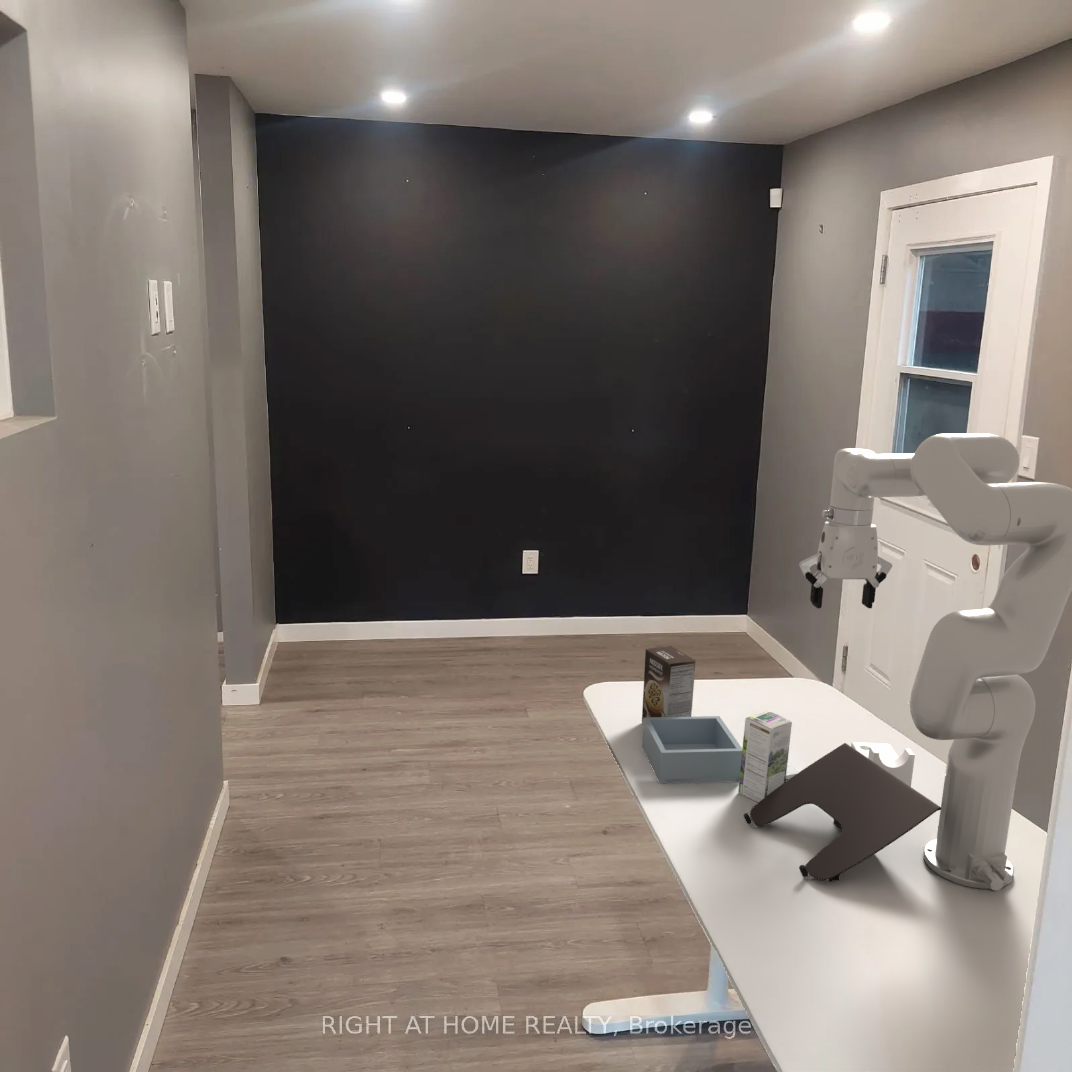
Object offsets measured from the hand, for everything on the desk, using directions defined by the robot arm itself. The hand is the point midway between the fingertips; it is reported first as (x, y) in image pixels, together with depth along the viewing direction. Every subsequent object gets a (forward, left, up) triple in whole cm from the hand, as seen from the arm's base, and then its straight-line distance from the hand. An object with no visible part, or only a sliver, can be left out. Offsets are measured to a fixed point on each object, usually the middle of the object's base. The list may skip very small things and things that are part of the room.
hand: (841, 606), depth 177 cm
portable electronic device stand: (-32, +13, -30) cm, 46 cm away
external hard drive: (-5, +14, -30) cm, 34 cm away
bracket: (-10, -6, -30) cm, 32 cm away
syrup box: (-16, +19, -29) cm, 39 cm away
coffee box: (+11, +29, -29) cm, 43 cm away
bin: (-4, +28, -29) cm, 41 cm away
